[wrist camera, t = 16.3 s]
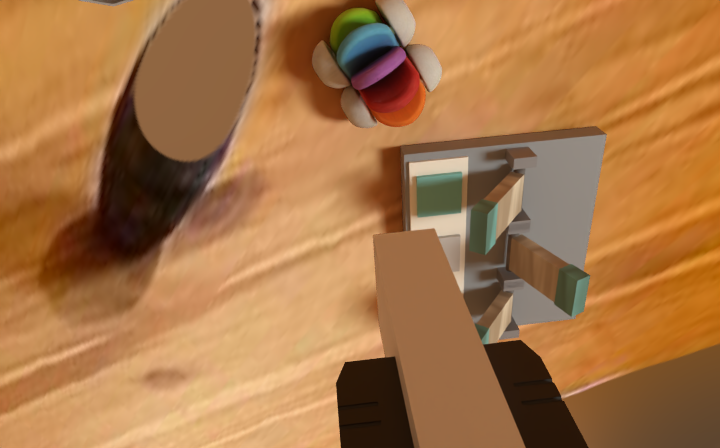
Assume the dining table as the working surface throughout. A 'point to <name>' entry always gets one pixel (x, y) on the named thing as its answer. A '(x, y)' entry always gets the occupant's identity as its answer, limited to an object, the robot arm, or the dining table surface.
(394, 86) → the rainbow disc wheeled toy
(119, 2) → the cup
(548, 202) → the switch board
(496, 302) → the lever
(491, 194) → the lever
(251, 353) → the dining table surface
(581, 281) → the lever
